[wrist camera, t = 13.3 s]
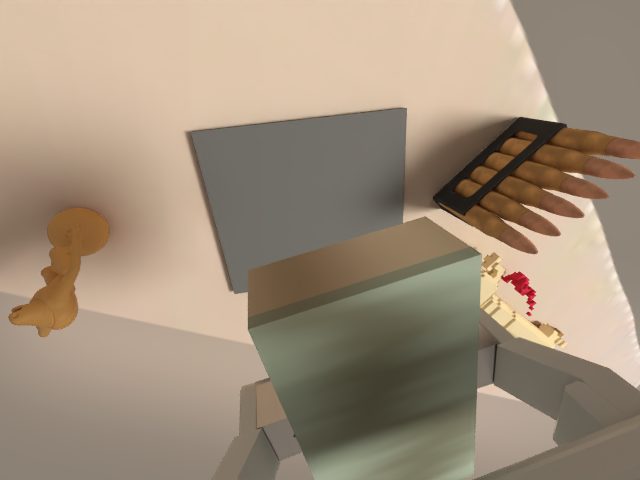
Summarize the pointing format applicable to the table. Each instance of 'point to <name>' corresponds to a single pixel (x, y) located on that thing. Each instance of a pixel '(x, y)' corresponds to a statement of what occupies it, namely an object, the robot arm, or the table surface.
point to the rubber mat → (301, 184)
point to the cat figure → (506, 313)
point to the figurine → (63, 269)
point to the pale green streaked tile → (375, 352)
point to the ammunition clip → (533, 178)
